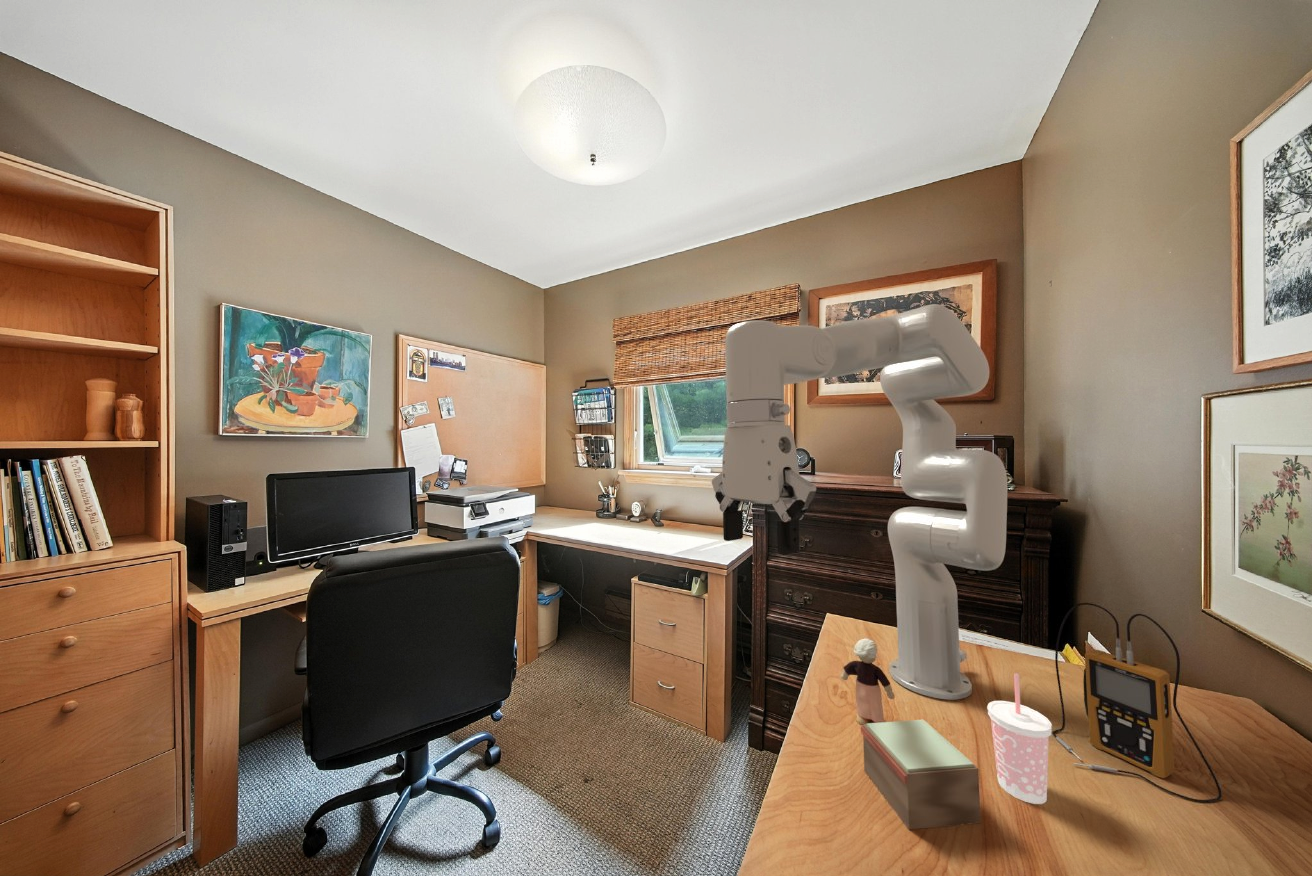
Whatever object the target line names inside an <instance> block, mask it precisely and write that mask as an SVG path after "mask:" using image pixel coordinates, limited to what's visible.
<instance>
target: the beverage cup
mask: <svg viewBox="0 0 1312 876" xmlns="http://www.w3.org/2000/svg"><path fill="white" fill-rule="evenodd" d="M1013 681H1014V686H1013V687H1014V702H1012V701H1008V700H993V701H990V702H989V703H988V704H987V706H986V709H987V714H988V716H989V718H990V724H991V732H992V733H991V734H992V741H993V742H992V743H993V750H994V758H995V766H996V767H995V768H996V775H997V782H998V783H999V786H1000V787H1001V788H1002V790H1004V791H1005V792H1006V793H1008V794H1009V795H1011V796H1013V797H1014V798H1016V799H1018V800H1020V801H1023V802H1025V803H1030V804H1034V805H1043V804H1044V803H1046V802H1047V798H1048V794H1047V793H1048V767H1049V764H1048V763H1049V738H1050V736H1052V732H1053V730H1052V727H1053V725H1052V722H1051V721H1050V720H1049V719H1048V717H1046V716H1045V715H1043V714H1042V713H1040V712H1039V711H1037V710H1036V709H1035V710H1034V709H1032V708H1031V707H1028V706H1026V705H1023V704H1021V690H1020V674H1018V673H1017V672H1015V673H1013Z"/></svg>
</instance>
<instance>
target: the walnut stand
mask: <svg viewBox="0 0 1312 876" xmlns="http://www.w3.org/2000/svg"><path fill="white" fill-rule="evenodd" d="M860 733H861V734H862V736H863V737H862V739H863V744H862V745H863V766H864V767H863V768H864V769H863V771H864V773H865V774H866V776H867V777H868V778H869V779H870V780H871V782H872V783H873V784H874V786H875V787H876V788H877V790H878V791H879V793H881V795H882V797H883V798H884V799H885V800H886V801H887V802H888V804H889V806H891V808H892V810H894V812H895V813H896V815H897V816H898V817H899V818H900V820H901V821H902V823H904V825H905V826H906V827H907V829H908V830H919V829H928V828H938V827H939V828H940V827H949V826H952V827H953V826H961V824H962V825H972V824H971V823H973V824H981V823H980V822H982V821H981V819H982V818H981V817H982V816H981V798H980V793H981V792H980V776H979V775H980V772H979V767H978V766H976V765H975V764H974V763H973V761H971V760H970V759H969V758H968V757H966V756H965V754H963V753H962V752H961V751H959V750H958V748H956V747H955V746H954V745H953V744H952V743H950V742H949V740H947V739H946V737H943V735H941V733H939V731H937V730H936V729H935V728H933V726H931V725H930V724H929V723H928V722H927V721H925V719H914V720H913V719H911V720H896V721H886V722H881V723H873V722H869V723H867V724H864V725H861V726H860ZM969 823H970V824H969Z"/></svg>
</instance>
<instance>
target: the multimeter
mask: <svg viewBox="0 0 1312 876" xmlns="http://www.w3.org/2000/svg"><path fill="white" fill-rule="evenodd" d="M1085 605H1089V606H1094V607H1096V608H1098V609H1102V610H1103V611H1104V612H1106V613H1108V614H1109V616H1110V617H1111V618H1112V619H1113V621H1114V623H1115V629H1116V639H1115V640H1116V641H1115V642H1116V643H1115V644H1116V647H1115V654H1112V653H1110V652H1106V651H1105V650H1099V649H1094V650H1091V651H1088V652H1086V653H1084V663H1085V666H1084V667H1085V668H1083V669H1084V670H1083V681H1082V682H1083V702H1084V708H1085V713H1086V716H1087V718H1088V728H1089V729H1088V730H1089V742H1090V744H1091V745H1092V746H1093V747H1094V748H1097V749H1098V750H1100V751H1104V752H1106V753H1109V754H1111V755H1113V756H1115V757H1118V758H1119V759H1122V760H1123V761H1126V762H1127V763H1129V764H1132V765H1134V766H1136V767H1138V768H1141V769H1143V770H1145V771H1147V772H1149V773H1151V775H1153V776H1155V777H1158V778H1160V779H1165V778H1168V777H1169V776H1170V775H1171V774H1173V773H1174V772H1175V760H1174V759H1175V758H1174V755H1175V753H1174V734H1173V733H1174V732H1173V716H1172V715H1173V713H1172V704H1173V709H1174V712H1175V715H1177V718H1178V719H1179V721H1180V723H1181V724H1182V726H1183V728H1184V730H1185V731H1186V733H1187V735H1188V736H1189V737H1190V740H1191V742H1193V744H1194V746H1195V748H1196V749H1197V751H1198V752H1199V755H1200V756H1201V758H1202V759H1203V760H1202V761H1204V764H1205V765H1206V767H1207V769H1208V771H1209V773H1210V774H1211V777H1212V779H1213V781H1214V784H1215V787H1216V788H1217V794H1218V795H1217V796H1216V797H1215V798H1210V799H1209V798H1208V799H1197V798H1194V797H1189V796H1186V795H1182V794H1179V793H1177V792H1174V791H1172V790H1169V789H1167V788H1165V787H1163V786H1161V785H1158V784H1157V783H1155V782H1153V781H1151V780H1150V779H1149V778H1148V777H1145V776H1143V775H1141V774H1138V773H1136V772H1131V771H1127V770H1121V769H1117V768H1113V767H1109V766H1103V765H1098V764H1097V765H1096V764H1092V763H1089V764H1082V763H1079V762H1078V763H1077V762H1073V763H1072V765H1076V766H1079V767H1080V766H1082V767H1087V768H1089V769H1091V770H1098V771H1102V772H1103V771H1104V772H1108V773H1109V772H1110V773H1122V774H1123V773H1124V774H1127V775H1133V776H1137V777H1138V778H1142V779H1143V780H1145V781H1147V782H1148V783H1150V784H1152V785H1153V786H1155V787H1157V788H1159V789H1160V790H1162V791H1165V792H1167V793H1169V794H1172V795H1175V796H1176V797H1180V798H1183V799H1185V800H1188V801H1193V802H1199V803H1213V802H1214V803H1215V802H1218V801H1221V799H1222V798H1223V794H1222V788H1221V786H1220V784H1219V781H1218V779H1217V777H1216V775H1215V773H1214V771H1213V770H1212V767H1211V765H1210V764H1209V762H1208V760H1207V758H1206V756H1205V754H1204V753H1203V751H1202V750H1201V748H1200V747H1199V744H1197V742H1196V740H1195V738H1194V736H1193V735H1192V733H1191V732H1190V729H1189V728H1188V726H1187V725H1186V723H1185V721H1184V720H1183V718H1182V716H1181V714H1180V712H1179V711H1178V707H1177V696H1178V694H1177V693H1178V687H1179V682H1180V681H1179V680H1180V671H1181V658H1180V653H1179V650H1178V648H1177V646H1176V644H1175V642H1174V641H1173V638H1172V637H1171V635H1170V634H1169V633H1168V632H1167V631H1166V630H1165V628H1164V627H1162V626H1161V625H1160V624H1159V623H1158V622H1157V621H1156V620H1154V619H1153V618H1151V617H1150V616H1148V615H1146V614H1144V613H1136V614H1133V615H1132V616H1131V617H1129V618H1128V621H1127V625H1126V636H1127V637H1126V638H1127V640H1126V648H1127V650H1126V658H1124V657H1123V650H1122V649H1123V648H1121V638H1120V627H1119V625H1120V624H1119V623H1118V620H1117V618H1116V617H1115V616H1114V615H1113V614H1112V613H1111V612H1110V611H1109V610H1108V609H1106V608H1104V606H1103V607H1102V606H1101V605H1098V604H1096V603H1090V602H1079V603H1077V604H1076V605H1073V606H1072V607H1071V608H1070V609H1069V610H1068V611H1067V612H1066V614H1065V616H1064V617H1063V619H1062V622H1061V624H1060V627H1059V630H1058V634H1057V638H1056V644H1055V657H1054V659H1055V660H1054V661H1055V671H1056V679H1057V686H1058V691H1059V699H1060V705H1061V706H1060V707H1061V713H1062V714H1061V715H1062V725H1061V727H1060V728H1058V729H1055V730H1052V731H1051V735H1052V736H1053V737H1054V738H1055V739H1056V740H1057V741H1058V742H1059V743H1060V744H1061V745H1062V746H1063V747H1064V748H1065V749H1066V750H1067V751H1068V752H1069V753H1072V754H1073V755H1074V756H1075V757H1076V758H1077V759H1079V760H1080V761H1082V759H1081V757H1080V756H1079V755H1077V753H1076V752H1074V748H1071V746H1069V745H1068V744H1067V743H1066V742H1065V741H1064V740H1063V739H1061V738H1060V737H1059V736H1057V735H1056V734H1055V733H1058V732H1062V731H1063V730H1065V726H1066V718H1065V717H1066V715H1065V706H1064V700H1063V692H1062V687H1061V680H1060V672H1059V662H1058V661H1059V658H1058V657H1059V656H1058V654H1059V644H1060V639H1061V634H1062V631H1063V628H1064V625H1065V623H1066V621H1067V619H1068V617H1069V616H1070V613H1072V612H1073V611H1074V610H1075V609H1076V608H1077V607H1080V606H1085ZM1136 617H1144V618H1146V619H1148V620H1150V622H1152V623H1153V624H1154V625H1156V626H1157V627H1158V628H1159V629H1160V630H1161V631H1162V632H1163V633H1164V635H1165V636H1166V637H1167V638H1168V640H1169V641H1170V644H1171V646H1172V647H1173V649H1174V652H1175V655H1176V656H1175V657H1176V673H1175V681H1174V686H1173V688H1174V689H1173V696H1172V695H1171V681H1170V673H1168V672H1167V671H1165V670H1164V669H1161V668H1159V667H1156V666H1150V665H1148V664H1147V665H1146V664H1144V663H1141V662H1138V661H1134V652H1133V650H1132V649H1133V648H1132V641H1131V623H1132V621H1133V620H1134V618H1136ZM1171 696H1172V697H1171ZM1171 698H1172V699H1171Z"/></svg>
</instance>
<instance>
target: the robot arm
mask: <svg viewBox="0 0 1312 876" xmlns="http://www.w3.org/2000/svg"><path fill="white" fill-rule="evenodd" d="M724 343H725V344H724V345H725V349H724V350H725V383H726V387H725V388H726V391H725V392H726V393H725V394H726V423H727V424H726V425H727V426H726V428H725V431H724V439H723V449H722V463H721V464H722V466H721V468H722V469H721V472H720V473H719V474H717V476H715V477H714V478H712V480H711V485H712V488H713V490H714V493H715V494H714V495H715V496H714V497H715V499H716V501H717V502H718V504H719V510H720V512H722V522H723V526H722V527H723V528H722V529H723V535H722V536H723V540H724V541H726V542H731V541H737V540H742V539H743V537H744V525H743V523H744V522H743V521H744V520H743V519H744V518H743V510H741V509H740V507H741V506H742V504H743V503H744V502H747V503H755V504H763V505H772V507H773V508H774V510H775V512H776V513H777V515H778V516H779V518H780V519H781V520H778V521H777V523H776V534H777V535H776V536H777V538H776V540H777V544H776V545H777V552H778V554H779V555H782V556H786V555H790V554H794V553H798V552H799V551H800V521H801V520H803V518H804V515H805V513H806V512H807V511H808V510H809V509H810V508H811V506H812V504H811V502H812V501H813V499H814V496H815V494H816V491H817V486H816V485H815V484H814V483H812V482H810V481H809V480H808V479H806V478H804V477H803V476H802V475H800V468H799V461H798V454H797V447H796V443H795V438H794V437H795V436H794V433H793V430H792V428H791V427H792V426H791V425H790V424H787V425H786V415H789V414H790V412H791V407H790V406H789V404H788V403H785V386H788V385H793V384H798V383H804V382H810V381H814V380H818V379H829V378H836V377H843V376H848V375H853V374H859V373H861V372H866V371H870V370H876V369H877V370H878V369H881V368H882V370H881V371H880V377H879V378H880V379H879V380H880V385H881V389H882V392H883V393H884V395H885V396H886V398H887V399H888V400H889V402H890V403H891V405H892V407H893V408H894V410H895V411H896V413H897V415H898V416H899V418H900V421H901V425H902V447H901V449H902V450H901V451H902V452H901V465H900V466H901V467H900V485H901V489H902V491H903V493H905V495H906V496H909V497H911V498H913V499H916V500H917V499H918V500H923V501H930V502H933V501H934V502H943V503H944V502H945V503H954V504H955V503H956V504H965V506H966V511H964V510H954V509H952V510H951V509H946V508H936V507H926V506H925V507H924V506H907V507H906V506H905V507H902V508H899V509H897V510H895V511H894V512H893V513H892V514H890V517H889V519H888V522H887V536H888V541H889V544H890V547H891V552H892V557H893V562H894V573H895V574H894V576H895V597H896V598H895V599H896V600H895V601H896V627H897V628H896V629H897V650H898V651H897V652H898V654H897V655H898V657H897V659H894V660H892V661H891V662H890V663H889V667H888V668H889V674H890V676H891V677H892V678H893V679H894V681H895V682H896V683H898V684H899V685H901V686H902V687H904V688H906V689H908V690H910V691H912V692H914V693H917V694H920V695H923V696H926V697H929V698H933V699H940V700H951V701H952V700H962V699H965V698H968V697H970V695H972V691H973V686H972V682H971V681H970V679H969V678H968V677H967V676H966V674H963V673H962V672H961V663H962V662H965V661H966V660H967V658H968V655H967V653H966V652H965V651H964V650H962V649H960V634H959V630H960V629H959V628H960V627H959V609H958V608H959V606H958V604H959V603H958V590H957V585H956V583H955V581H954V578H953V577H952V575H951V573H950V571H949V570H948V568H947V567H946V565H950V566H954V567H955V566H956V567H960V568H965V569H970V570H977V571H984V572H985V571H987V572H989V571H992V570H993V571H994V570H996V569H998V568H999V567H1000V566H1001V565H1002V563H1003V561H1004V558H1005V554H1006V547H1007V545H1006V544H1007V518H1008V516H1007V513H1008V476H1007V475H1008V474H1007V471H1006V468H1005V466H1004V463H1003V461H1002V459H1001V458H1000V457H999V455H997V454H995V453H994V452H991V451H989V450H985V449H975V448H974V449H957V446H956V445H957V444H956V443H957V441H956V440H957V439H956V435H957V428H956V427H957V425H956V423H955V421H954V419H953V417H952V416H951V415H950V413H948V412H947V411H946V410H945V408H943V407H942V406H941V405H940V404H939V403H937V401H936V400H940V399H947V398H948V399H949V398H960V397H966V396H967V397H968V396H971V395H975V394H977V393H979V392H980V391H982V390H983V389H984V388H985V387H986V385H987V384H988V382H989V378H990V365H989V362H988V359H987V356H986V355H985V353H984V351H983V349H982V348H981V347H980V345H979V344H978V343H977V341H976V339H975V338H974V337H973V336H972V334H971V333H970V332H969V330H968V328H967V327H966V325H965V324H964V323H963V322H962V321H961V319H960V318H959V317H958V316H957V315H956V313H954V312H953V311H952V310H951V309H949V308H947V307H946V306H944V305H942V304H938V303H937V304H935V303H934V304H933V303H932V304H927V305H924V306H921V307H917V308H913V309H910V310H907V311H903V312H900V313H896V314H891V315H888V316H882V317H873V318H864V319H853V320H847V321H842V322H837V323H834V324H832V325H828V326H825V327H822V328H821V327H818V326H814V325H781V324H779V325H778V324H777V323H775V322H774V321H770V320H760V319H759V320H758V319H757V320H755V319H754V320H748V321H742V322H739V323H736V324H734V325H732V326H731V327H730V328H729V329H728V331H727V332H726V333H725V341H724ZM739 509H740V510H739Z"/></svg>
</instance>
